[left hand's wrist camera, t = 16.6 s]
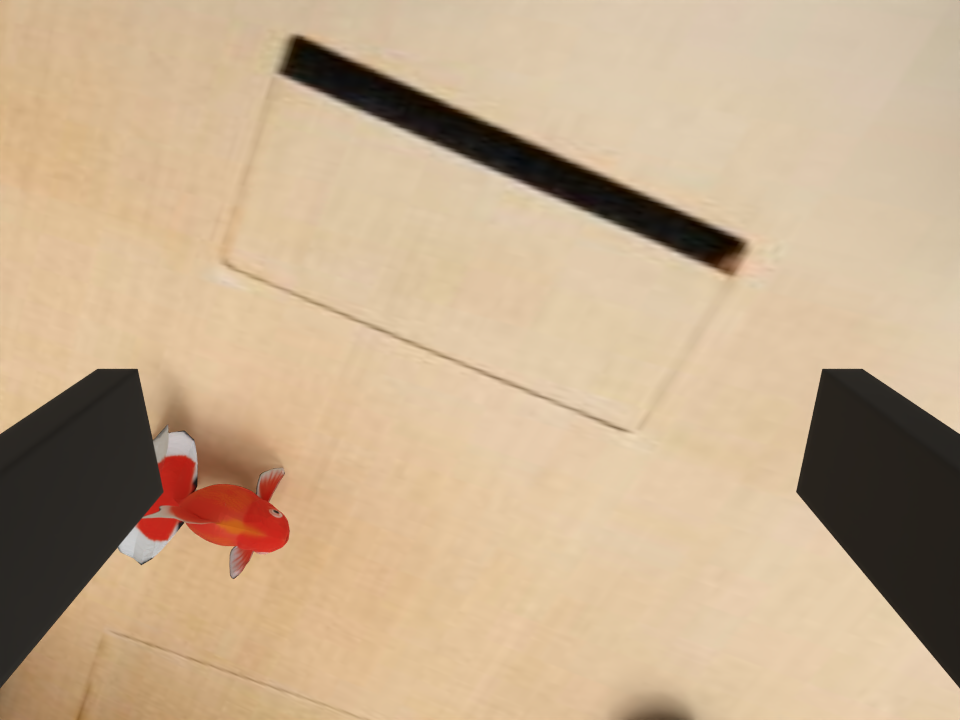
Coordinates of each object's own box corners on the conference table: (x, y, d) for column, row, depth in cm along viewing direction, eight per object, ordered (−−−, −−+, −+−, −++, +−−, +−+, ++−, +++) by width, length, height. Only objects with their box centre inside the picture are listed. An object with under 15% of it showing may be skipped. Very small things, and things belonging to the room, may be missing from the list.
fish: (256, 622, 48) (169, 663, 38) (120, 499, 52) (9, 508, 42) (337, 505, 48) (270, 516, 39) (195, 391, 52) (102, 375, 42)
